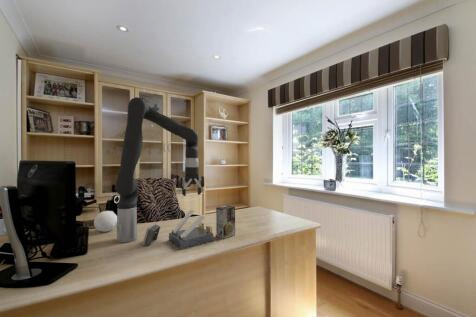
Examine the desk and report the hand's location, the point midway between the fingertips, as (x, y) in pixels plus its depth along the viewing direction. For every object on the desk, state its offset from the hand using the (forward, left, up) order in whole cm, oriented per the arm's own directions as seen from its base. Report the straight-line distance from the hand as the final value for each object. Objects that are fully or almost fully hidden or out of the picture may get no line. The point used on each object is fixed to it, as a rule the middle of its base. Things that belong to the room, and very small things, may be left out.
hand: (191, 195), depth 128 cm
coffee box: (+15, -12, -23) cm, 30 cm away
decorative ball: (-37, +38, -23) cm, 58 cm away
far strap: (-6, -3, -14) cm, 15 cm away
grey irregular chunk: (-21, +3, -23) cm, 31 cm away
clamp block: (-4, -7, -23) cm, 24 cm away
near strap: (-5, -12, -15) cm, 19 cm away
